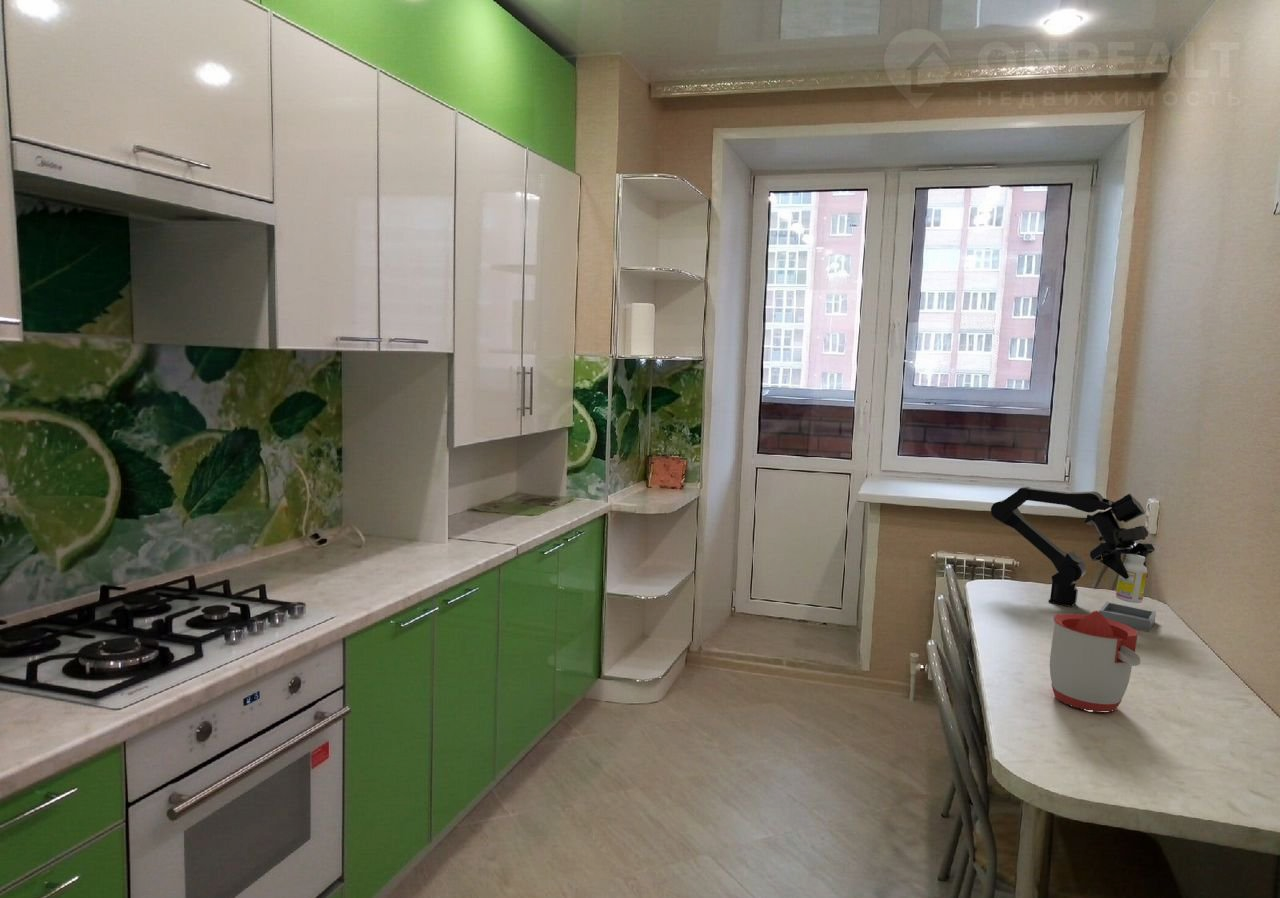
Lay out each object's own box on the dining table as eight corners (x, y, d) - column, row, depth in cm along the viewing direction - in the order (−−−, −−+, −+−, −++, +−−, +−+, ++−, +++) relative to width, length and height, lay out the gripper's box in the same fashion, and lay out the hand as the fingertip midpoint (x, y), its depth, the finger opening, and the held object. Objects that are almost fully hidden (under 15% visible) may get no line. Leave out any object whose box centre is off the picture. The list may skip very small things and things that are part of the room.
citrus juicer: (1103, 727, 168) (1116, 628, 166) (1027, 693, 184) (1039, 602, 181) (1151, 716, 176) (1165, 621, 173) (1075, 684, 191) (1086, 597, 188)
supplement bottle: (1135, 598, 245) (1143, 554, 243) (1146, 604, 238) (1154, 560, 237) (1111, 595, 246) (1118, 551, 244) (1121, 601, 239) (1128, 556, 238)
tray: (1097, 620, 242) (1099, 610, 242) (1105, 611, 252) (1106, 601, 252) (1149, 631, 235) (1150, 621, 234) (1154, 622, 245) (1156, 611, 245)
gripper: (1104, 515, 240) (1131, 564, 231) (1154, 515, 246) (1183, 563, 237) (1077, 535, 248) (1103, 583, 239) (1126, 535, 254) (1153, 582, 245)
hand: (1136, 578), depth 240 cm, fingers closed on supplement bottle, 7 cm apart
